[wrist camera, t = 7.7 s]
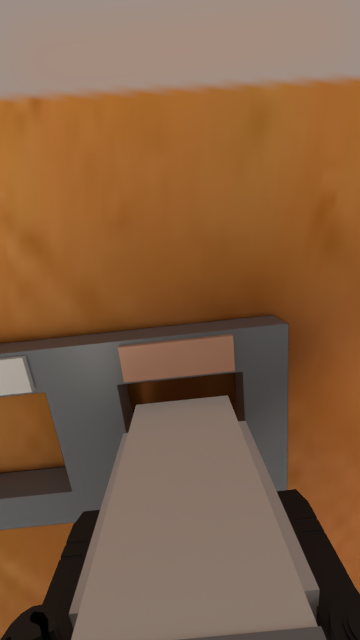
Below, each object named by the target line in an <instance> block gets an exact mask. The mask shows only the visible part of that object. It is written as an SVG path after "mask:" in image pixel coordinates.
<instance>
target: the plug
mask: <svg viewBox="0 0 360 640" xmlns="http://www.w3.org/2000/svg"><path fill="white" fill-rule="evenodd" d="M71 640H326V637H325V635H324V632H323V630H322V627H321V626H318V625H317V623H316V620H315V618H314V615H313V613H312V610H311V608H310V605H309V602H308V600H307V597H306V595H305V592H304V590H303V587H302V584H301V582H300V579H299V577H298V574H297V572H296V569H295V566H294V564H293V561H292V559H291V556H290V554H289V551H288V548H287V546H286V543H285V541H284V538H283V536H282V533H281V531H280V528H279V525H278V523H277V520H276V518H275V515H274V513H273V510H272V507H271V505H270V502H269V500H268V497H267V495H266V492H265V489H264V487H263V484H262V482H261V479H260V477H259V474H258V471H257V469H256V466H255V464H254V461H253V459H252V456H251V453H250V451H249V448H248V446H247V443H246V441H245V438H244V436H243V433H242V430H241V428H240V425H239V423H238V420H237V418H236V415H235V412H234V410H233V407H232V405H231V402H230V400H229V397H228V395H226V396H216V397H207V398H197V399H187V400H178V401H168V402H158V403H148V404H139V405H136V407H135V410H134V414H133V418H132V421H131V425H130V428H129V432H128V436H127V439H126V443H125V446H124V450H123V454H122V457H121V461H120V464H119V468H118V472H117V475H116V479H115V483H114V486H113V490H112V493H111V497H110V501H109V504H108V508H107V511H106V515H105V519H104V522H103V526H102V529H101V533H100V537H99V540H98V544H97V548H96V551H95V555H94V558H93V562H92V566H91V569H90V573H89V576H88V580H87V584H86V587H85V591H84V594H83V598H82V602H81V605H80V609H79V613H78V616H77V620H76V623H75V627H74V631H73V634H72V638H71Z"/></svg>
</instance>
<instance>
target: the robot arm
mask: <svg viewBox="0 0 360 640" xmlns="http://www.w3.org/2000/svg"><path fill="white" fill-rule="evenodd" d="M238 423H239V425H240V428H241V430H242V433H243V436H244V438H245V441H246V443H247V446H248V448H249V451H250V453H251V456H252V459H253V461H254V464H255V466H256V469H257V471H258V474H259V477H260V479H261V482H262V484H263V487H264V489H265V492H266V495H267V497H268V500H269V502H270V505H271V507H272V510H273V513H274V515H275V518H276V520H277V523H278V525H279V528H280V531H281V533H282V536H283V538H284V541H285V543H286V546H287V548H288V551H289V554H290V556H291V559H292V561H293V564H294V566H295V569H296V572H297V574H298V577H299V579H300V582H301V584H302V587H303V590H304V592H305V595H306V597H307V600H308V602H309V605H310V608H311V610H312V613H313V615H314V618H315V620H316V623H317V625H318V626H321V627H322V630H323V632H324V635H325V637H326V640H360V594H359V592H358V591H357V589H356V588H355V586H354V584H353V583H352V581H351V579H350V577H349V575H348V574H347V572H346V570H345V568H344V566H343V564H342V563H341V561H340V559H339V557H338V555H337V554H336V552H335V550H334V548H333V546H332V544H331V543H330V541H329V539H328V537H327V535H326V534H325V533H324V530H323V528H322V526H321V524H320V523H319V521H318V520H317V518H316V515H315V514H314V512H313V510H312V508H311V506H310V504H309V503H308V501H307V500H306V499H305V498H304V497H303V496H302V495H301V494H300V493H299V492H298V491H297V490H296V489H294V490H284V491H276V489H275V487H274V484H273V482H272V480H271V478H270V475H269V473H268V471H267V468H266V466H265V464H264V462H263V459H262V457H261V455H260V452H259V450H258V448H257V446H256V443H255V441H254V439H253V436H252V434H251V432H250V430H249V427H248V425H247V423H246V421H238ZM127 436H128V433H123V436H122V440H121V443H120V446H119V449H118V453H117V456H116V459H115V463H114V466H113V469H112V473H111V476H110V479H109V482H108V486H107V489H106V492H105V496H104V499H103V502H102V506H101V509H100V510H92V511H83V513H82V514H81V515H80V517H79V518H78V520H77V521H76V522H75V524H74V525H73V527H72V530H71V532H70V535H69V537H68V540H67V542H66V543H67V544H66V546H65V548H64V550H63V553H62V555H61V560H59V563H58V566H57V568H56V571H55V573H54V576H53V579H52V581H51V584H50V586H49V589H48V591H47V594H46V597H45V599H44V602H43V604H42V605H38V606H33V607H31V608H29V609H28V610H26V611H25V612H23V613H22V614H21V615H20V616H19V617H18V618H17V619H16V620H15V621H14V622H13V623H12V624H11V625H10V626H9V628H8V629H7V631H6V632H5V634H4V635H3V637H2V638H1V640H71V638H72V634H73V631H74V627H75V623H76V620H77V616H78V613H79V609H80V605H81V602H82V598H83V594H84V591H85V587H86V584H87V580H88V576H89V573H90V569H91V566H92V562H93V558H94V555H95V551H96V548H97V544H98V540H99V537H100V533H101V529H102V526H103V522H104V519H105V515H106V511H107V508H108V504H109V501H110V497H111V493H112V490H113V486H114V483H115V479H116V475H117V472H118V468H119V464H120V461H121V457H122V454H123V450H124V446H125V443H126V439H127Z"/></svg>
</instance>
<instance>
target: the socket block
mask: <svg viewBox="0 0 360 640" xmlns="http://www.w3.org/2000/svg"><path fill="white" fill-rule="evenodd" d="M288 334H289V323H287V322H285V321H283V320H281V319H280V318H278V317H276V316H274V315H268V316H259V317H250V318H240V319H231V320H221V321H212V322H202V323H193V324H183V325H174V326H164V327H155V328H146V329H136V330H127V331H117V332H108V333H98V334H89V335H79V336H70V337H60V338H51V339H42V340H32V341H23V342H13V343H4V344H0V397H5V396H15V395H25V394H34V393H44V392H45V393H46V397H47V400H48V404H49V408H50V411H51V415H52V419H53V422H54V426H55V430H56V433H57V437H58V441H59V444H60V448H61V452H62V455H63V459H64V463H65V466H66V467H59V468H49V469H39V470H29V471H20V472H10V473H0V530H4V529H14V528H24V527H35V526H45V525H55V524H65V523H75V522H76V521H77V520H78V518H79V517H80V515H81V514H82V513H83V511H92V510H100V509H101V506H102V502H103V499H104V496H105V492H106V489H107V486H108V482H109V479H110V476H111V473H112V469H113V466H114V463H115V459H116V456H117V453H118V449H119V446H120V443H121V440H122V436H123V433H128V432H129V428H130V425H131V421H132V418H133V414H132V408H131V403H130V397H129V391H128V386H127V384H130V383H140V382H150V381H159V380H169V379H178V378H188V377H198V376H207V375H217V374H227V373H235V383H236V402H237V420H238V421H246V423H247V425H248V427H249V430H250V432H251V434H252V436H253V439H254V441H255V443H256V446H257V448H258V450H259V452H260V455H261V457H262V459H263V462H264V464H265V466H266V468H267V471H268V473H269V475H270V478H271V480H272V482H273V484H274V487H275V489H276V491H284V490H287V452H288Z"/></svg>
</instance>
